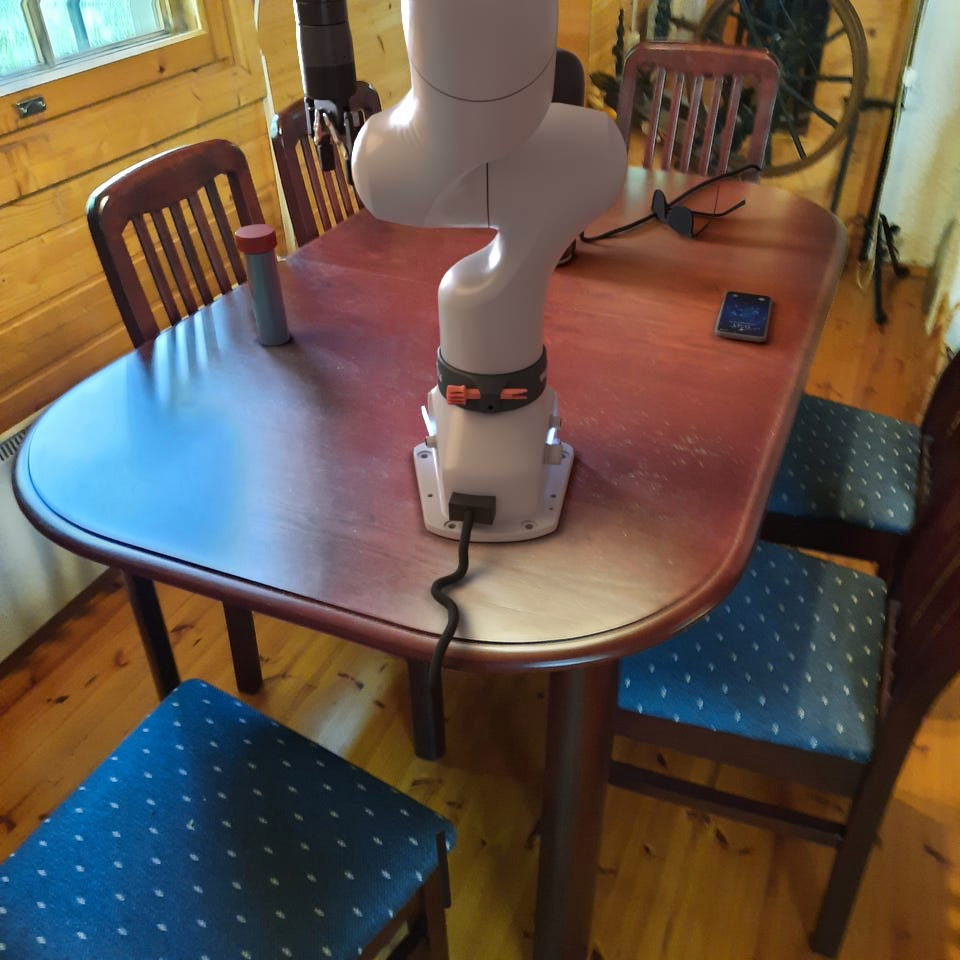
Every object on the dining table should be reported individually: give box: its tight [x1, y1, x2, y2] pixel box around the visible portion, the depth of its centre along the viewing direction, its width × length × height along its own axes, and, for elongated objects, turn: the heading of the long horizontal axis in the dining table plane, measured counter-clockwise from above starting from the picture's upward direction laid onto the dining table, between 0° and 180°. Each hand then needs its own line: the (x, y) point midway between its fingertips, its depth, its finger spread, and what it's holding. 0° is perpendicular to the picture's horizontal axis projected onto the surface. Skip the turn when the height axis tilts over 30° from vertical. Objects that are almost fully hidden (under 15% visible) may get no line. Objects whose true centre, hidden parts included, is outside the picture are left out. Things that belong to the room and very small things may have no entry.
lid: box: [234, 223, 278, 254], centre depth 117 cm, size 5×5×2 cm
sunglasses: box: [649, 184, 746, 239], centre depth 159 cm, size 17×14×5 cm
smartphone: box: [714, 290, 774, 343], centre depth 128 cm, size 7×1×15 cm
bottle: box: [241, 248, 291, 347], centre depth 122 cm, size 4×4×16 cm
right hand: (341, 177), depth 128 cm, fingers open, 8 cm apart
